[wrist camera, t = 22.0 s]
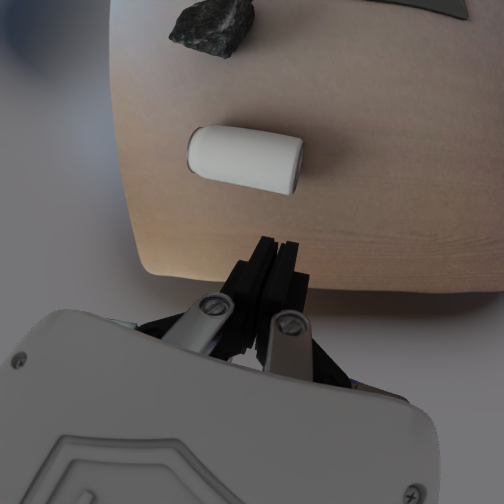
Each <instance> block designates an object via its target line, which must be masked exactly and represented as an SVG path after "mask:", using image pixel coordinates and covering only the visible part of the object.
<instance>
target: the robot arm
mask: <svg viewBox="0 0 504 504" xmlns="http://www.w3.org/2000/svg"><path fill="white" fill-rule="evenodd" d="M298 246H299V243H296V242H291V241H287V242H286V244H284V243H282V244H281V246H280V249H279V251H278V254H277V250H278V242H274V238H270V237H265V236H262V237H261V239H260V241H259V243H258V245H257V247H256V248H255V250H254V252H253V254H252V256H251V258H250V260H249V262H247V261H243V260H239V261H238V262H237V264H236V265H235V267H234V269H233V270H232V272H231V274H230V275H229V277H228V279H227V281H226V282H225V284H224V286H223V287H222V289H221V291H220V293H218V292H212V293H207V294H204V295H202V296H201V297H199V299H197V300H196V301H195V302H194V304H193V305H192V306H191V307H190V308H189V309H188V310H187V311H186V312H185V313H181V314H178V315H174V316H170V317H167V318H164V319H160V320H156V321H152V322H149V323H146V324H143V325H141V326H140V327H138V326H137V323H131V322H124V321H119V320H114V319H108V318H103V317H101V316H98V315H95V314H92V313H89V312H84V311H79V310H68V309H65V310H57V311H54V312H51V313H50V314H48V315H47V316H45V317H44V318H43V319H42V320H40V321H39V322H38V323H37V324H36V325H35V326H34V327H33V328H32V329H31V330H30V331H29V332H28V333H27V334H26V335H25V336H24V337H23V338H22V339H21V340H20V342H19V343H18V344H17V345H16V346H15V347H14V348H13V350H12V351H11V352H10V353H9V355H8V356H7V357H6V359H5V360H4V361H3V363H2V364H1V365H0V504H438V498H439V488H440V450H439V441H438V436H437V431H436V428H435V425H434V423H433V421H432V420H431V418H430V417H429V416H428V415H427V413H425V412H424V411H423V410H421V409H419V408H418V407H416V406H414V405H412V404H410V402H408V401H407V399H405V398H404V397H402V396H400V395H396V394H393V393H390V392H387V391H384V390H381V389H378V388H375V387H372V386H369V385H366V384H363V383H361V382H358V384H355V383H352V382H351V381H350V379H349V378H348V376H347V375H346V374H345V373H344V372H343V371H342V370H341V369H340V367H339V366H337V364H336V363H335V362H334V361H333V360H332V359H331V358H330V357H329V356H328V355H327V354H326V352H325V351H324V350H323V349H322V348H321V347H320V346H319V345H318V344H317V343H316V342H315V341H314V339H313V338H312V331H311V322H310V320H309V319H308V317H307V316H306V315H304V314H303V309H304V304H305V299H306V293H307V288H308V282H309V276H310V275H309V274H304V273H300V272H295V271H294V268H295V263H296V257H297V252H298ZM256 335H257V336H256ZM255 338H256V344H255V350H257V355H256V357H257V359H258V360H259V362H260V363H261V365H262V366H263V370H262V371H260V370H256V369H252V368H248V367H245V366H241V365H237V364H234V363H231V362H232V359H233V356H235V355H238V354H245V351H246V349H247V348H250V349H251V348H252V346H253V343H254V340H255Z"/></svg>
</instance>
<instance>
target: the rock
mask: <svg viewBox="0 0 504 504" xmlns="http://www.w3.org/2000/svg"><path fill="white" fill-rule="evenodd" d="M252 1H253V0H205V1H202V2H198V3H195V4H194V5H193V6H191V7H188V8H186V9H184V10H183V11H182V13H181V15H180V16H179V17H178V19H177V21H176V25H175V27H174V29H173V31H172V32H171V33H170V35H169V39H170V40H172V41H173V42H174V43H179V44H183V45H184V46H185V47H188V48H191V49H194V50H197V51H200V52H205V53H208V54H210V55H213V56H220V57H222V58H224V59H226V58H229V57H231V54H232V52H234V51H235V50H236V48H237V46H238V44H239V43H240V42H241V40H242V39H243V38H244V37H245V35H246V33H247V32H248V31H249V30H250V28H251V26H252V24H253V20H254V16H255V14H254V12H255V11H254V6H253V5H252Z"/></svg>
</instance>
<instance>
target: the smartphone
mask: <svg viewBox="0 0 504 504" xmlns="http://www.w3.org/2000/svg"><path fill="white" fill-rule="evenodd" d="M369 1H379V2H387V3H394V4H400V5H406V6H411V7H416V8H421V9H426V10H430V11H434V12H438V13H441V14H445V15H448V16H452V17H455V18H458V19H461V20H467V19H468V12H467V9H466V5H465V2H464V0H369Z"/></svg>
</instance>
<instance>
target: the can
mask: <svg viewBox="0 0 504 504" xmlns="http://www.w3.org/2000/svg"><path fill="white" fill-rule="evenodd" d="M303 153H304V142H303V141H302V139H301V138H297V137H292V136H287V135H282V134H276V133H271V132H265V131H259V130H252V129H245V128H238V127H230V126H221V125H210V126H207V127H205V128H203V127H199V128H197V129H196V130H195V131H194V132H193V134H192V135H191V138H190V140H189V143H188V147H187V165H188V168H189V170H190V171H191V172H193V173H198V174H199V175H200V176H202V177H203V178H207V179H212V180H217V181H223V182H228V183H233V184H238V185H243V186H248V187H253V188H258V189H262V190H267V191H272V192H276V193H281V194H286V195H291V194H292V193H293V194H294V192H295V189H296V186H297V182H298V179H299V174H300V170H301V165H302V159H303Z"/></svg>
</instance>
